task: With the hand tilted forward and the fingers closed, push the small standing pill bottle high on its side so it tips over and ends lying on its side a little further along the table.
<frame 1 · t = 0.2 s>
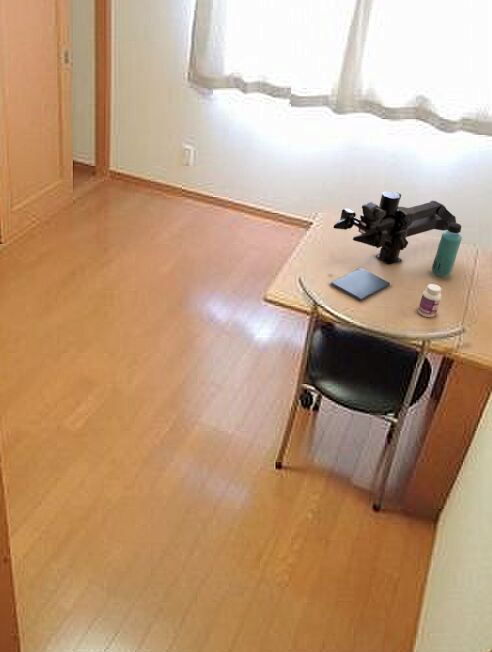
hand: (343, 232, 215), 17 cm above the table, tool horizontal, fingers open, 9 cm apart
pill bottle: (426, 313, 206), on the table
beverage bottle: (439, 275, 226), on the table
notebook: (360, 285, 219), on the table
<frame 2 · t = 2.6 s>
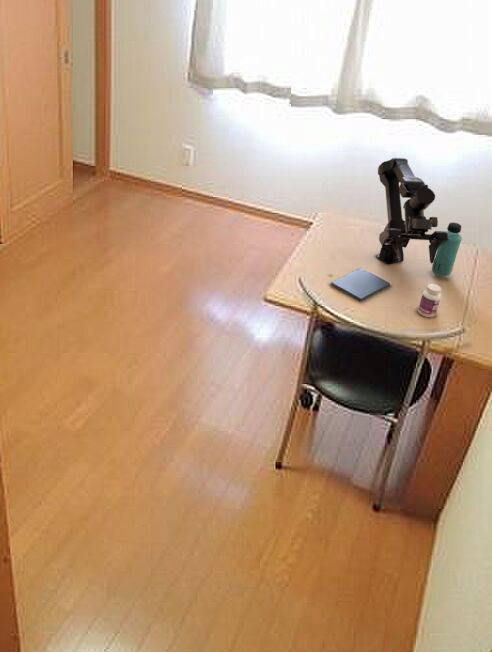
hand: (417, 262, 206), 14 cm above the table, tool tilted 50°, fingers open, 9 cm apart
nothing on the table moved.
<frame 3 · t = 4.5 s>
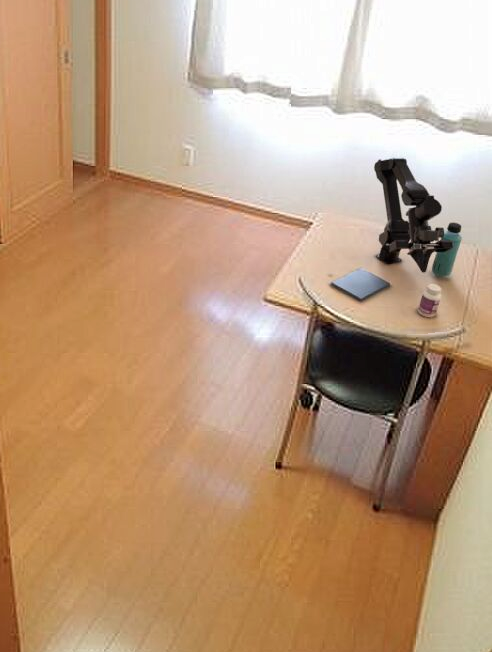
hand: (424, 272, 208), 10 cm above the table, tool tilted 45°, fingers closed
nothing on the table moved.
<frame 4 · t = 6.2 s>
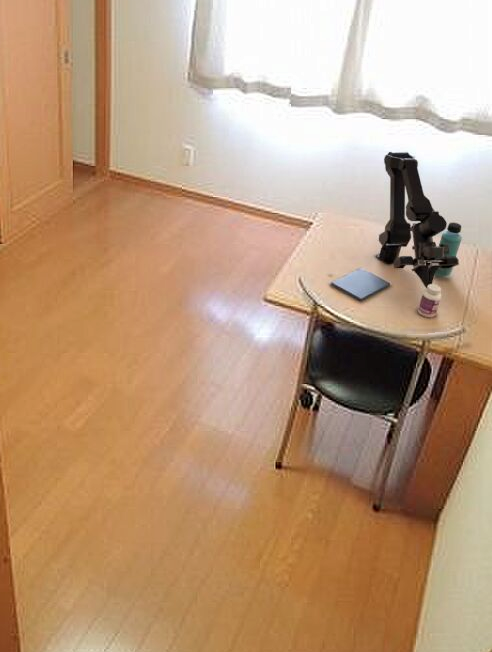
hand: (428, 289, 204), 7 cm above the table, tool tilted 45°, fingers closed, pressing on pill bottle
pill bottle: (426, 313, 206), on the table, touching gripper
everything else where it was.
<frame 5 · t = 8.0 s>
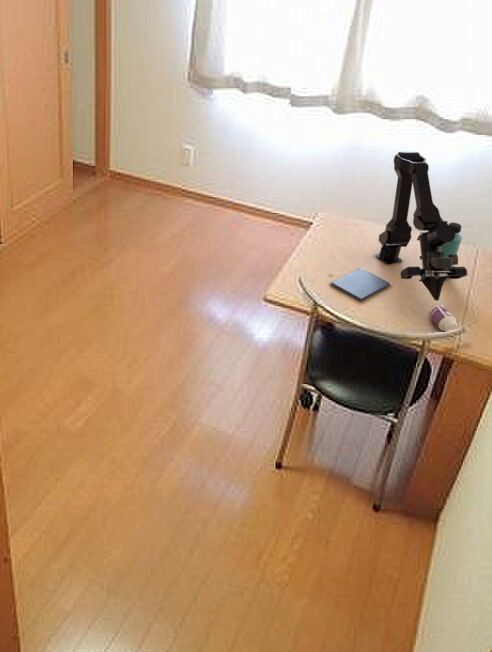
hand: (436, 300, 199), 7 cm above the table, tool tilted 45°, fingers closed
pill bottle: (436, 310, 203), point 3 cm above the table
everything else where it was.
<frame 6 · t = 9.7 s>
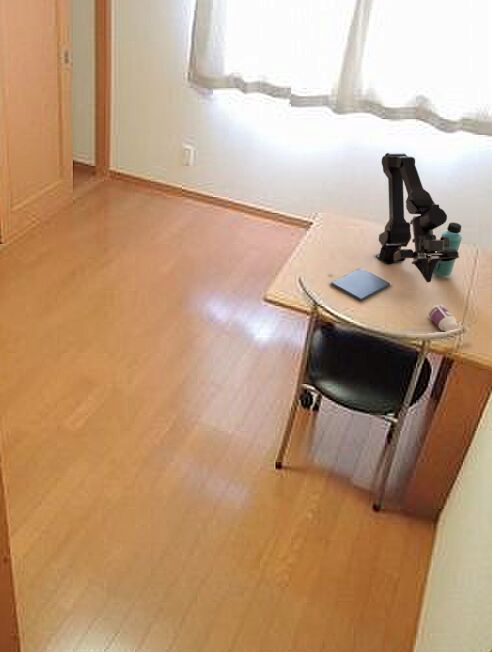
hand: (428, 282, 205), 9 cm above the table, tool tilted 45°, fingers closed
nothing on the table moved.
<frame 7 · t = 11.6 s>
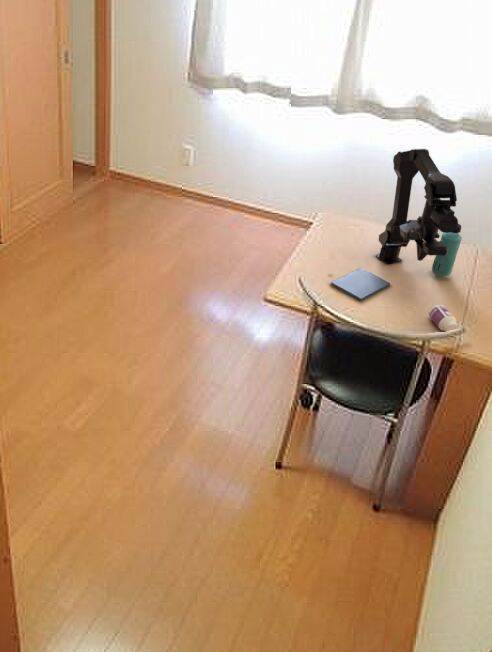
hand: (419, 260, 210), 12 cm above the table, tool pointing down, fingers closed
nothing on the table moved.
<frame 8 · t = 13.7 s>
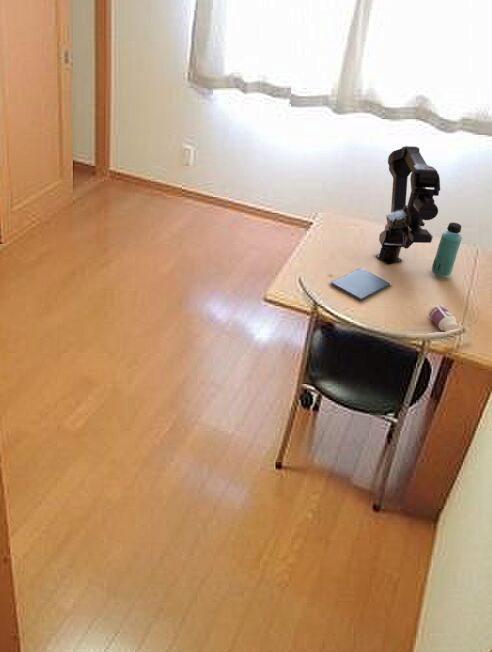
hand: (405, 248, 217), 12 cm above the table, tool pointing down, fingers closed
nothing on the table moved.
at the end: pill bottle tilted 90°; pill bottle inside the target area (3.3 cm from its centre), point 2.6 cm above the table; pill bottle moved 3.8 cm from its start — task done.
